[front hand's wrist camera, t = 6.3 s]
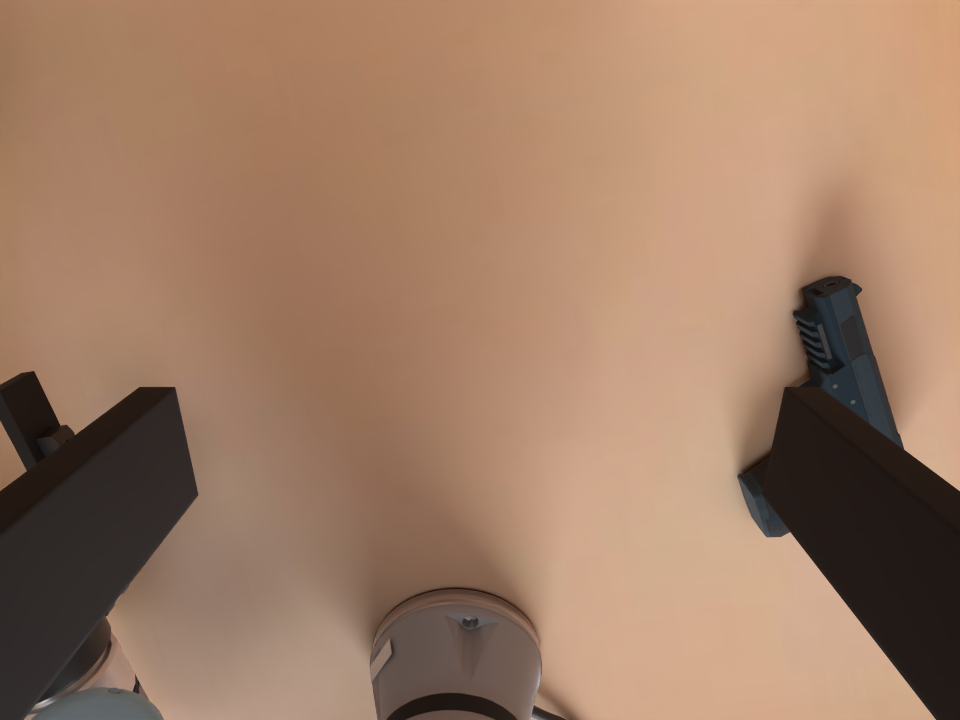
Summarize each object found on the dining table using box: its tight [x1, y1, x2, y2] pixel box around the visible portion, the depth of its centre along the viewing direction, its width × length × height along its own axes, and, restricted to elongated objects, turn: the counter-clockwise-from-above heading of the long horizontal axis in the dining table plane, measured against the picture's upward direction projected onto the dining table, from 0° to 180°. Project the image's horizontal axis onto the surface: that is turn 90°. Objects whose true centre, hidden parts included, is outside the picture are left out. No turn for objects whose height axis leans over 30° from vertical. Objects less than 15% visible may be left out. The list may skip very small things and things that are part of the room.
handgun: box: [738, 276, 904, 537], centre depth 42 cm, size 3×18×12 cm
